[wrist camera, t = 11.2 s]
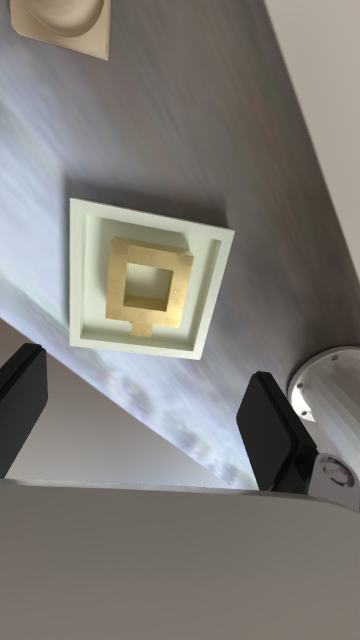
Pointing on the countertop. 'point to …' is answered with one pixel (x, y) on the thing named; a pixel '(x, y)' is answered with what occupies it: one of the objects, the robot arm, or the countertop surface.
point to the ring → (143, 308)
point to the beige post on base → (65, 23)
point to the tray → (141, 278)
